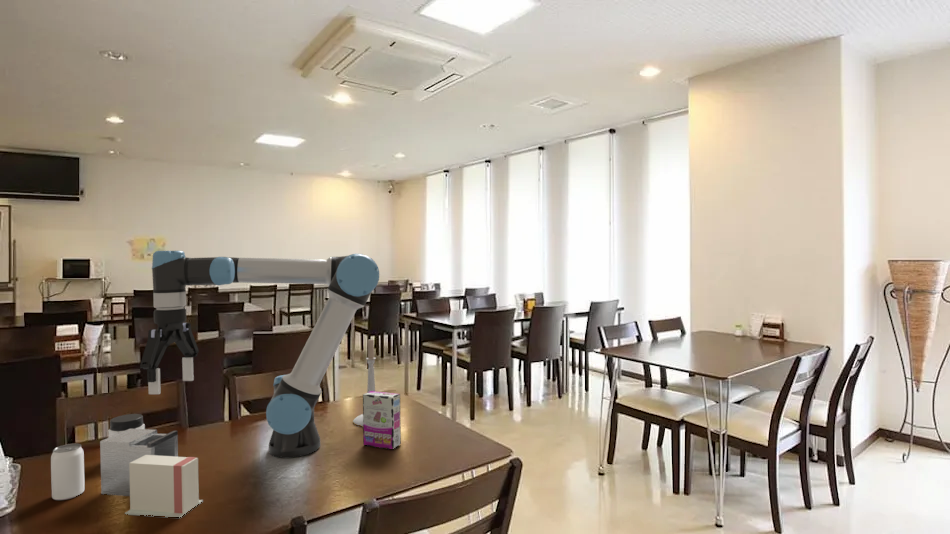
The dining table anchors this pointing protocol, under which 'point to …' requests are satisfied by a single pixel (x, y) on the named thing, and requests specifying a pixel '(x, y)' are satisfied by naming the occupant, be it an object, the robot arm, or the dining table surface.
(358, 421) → the candlestick
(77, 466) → the can
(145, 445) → the dispenser
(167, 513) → the pad
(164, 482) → the pink-banded white block
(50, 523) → the dining table surface
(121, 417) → the jar
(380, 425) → the candy bar box
